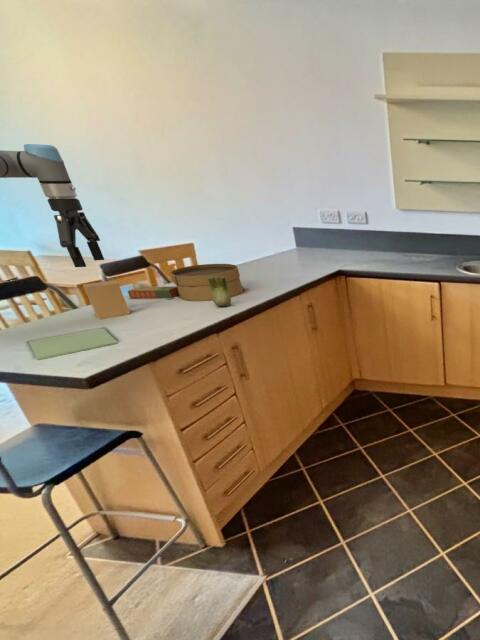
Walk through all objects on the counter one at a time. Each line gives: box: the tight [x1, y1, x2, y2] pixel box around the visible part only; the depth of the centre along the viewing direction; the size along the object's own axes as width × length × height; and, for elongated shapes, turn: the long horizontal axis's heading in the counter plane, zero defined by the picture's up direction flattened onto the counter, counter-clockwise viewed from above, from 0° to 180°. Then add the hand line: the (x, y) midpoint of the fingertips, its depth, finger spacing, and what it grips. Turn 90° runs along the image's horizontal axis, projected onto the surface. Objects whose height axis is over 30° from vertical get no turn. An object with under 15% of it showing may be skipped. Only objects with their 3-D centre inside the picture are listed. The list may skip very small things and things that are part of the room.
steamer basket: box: [170, 263, 244, 302], centre depth 186 cm, size 25×25×11 cm
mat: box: [28, 328, 119, 361], centre depth 132 cm, size 20×18×1 cm
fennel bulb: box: [208, 277, 232, 307], centre depth 169 cm, size 6×5×12 cm
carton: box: [127, 286, 180, 301], centre depth 180 cm, size 8×16×4 cm, turn 98°
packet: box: [82, 280, 131, 320], centre depth 156 cm, size 6×9×12 cm, turn 141°
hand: (90, 263), depth 147 cm, fingers open, 13 cm apart
